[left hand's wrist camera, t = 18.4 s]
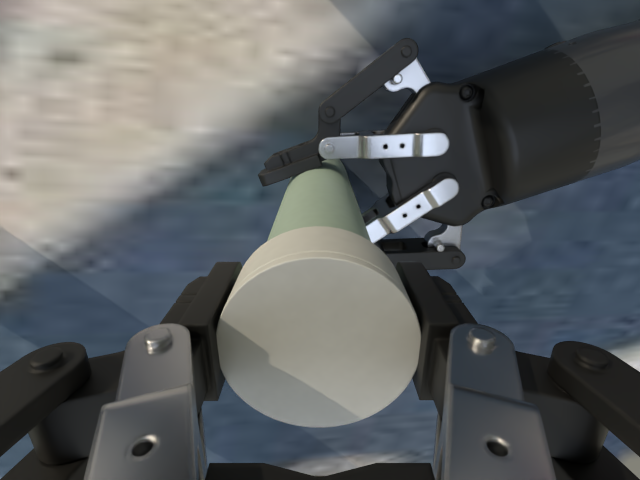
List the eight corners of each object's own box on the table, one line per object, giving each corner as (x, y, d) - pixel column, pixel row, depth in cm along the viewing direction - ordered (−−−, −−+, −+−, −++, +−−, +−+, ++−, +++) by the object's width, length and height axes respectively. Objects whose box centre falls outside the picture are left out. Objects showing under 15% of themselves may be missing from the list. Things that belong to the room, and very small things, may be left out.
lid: (209, 334, 11) (185, 385, 9) (279, 193, 10) (268, 218, 8) (350, 393, 12) (356, 451, 10) (436, 273, 10) (464, 314, 8)
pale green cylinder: (347, 150, 27) (403, 256, 9) (346, 204, 29) (392, 389, 10) (291, 151, 27) (233, 258, 9) (293, 204, 29) (247, 390, 10)
